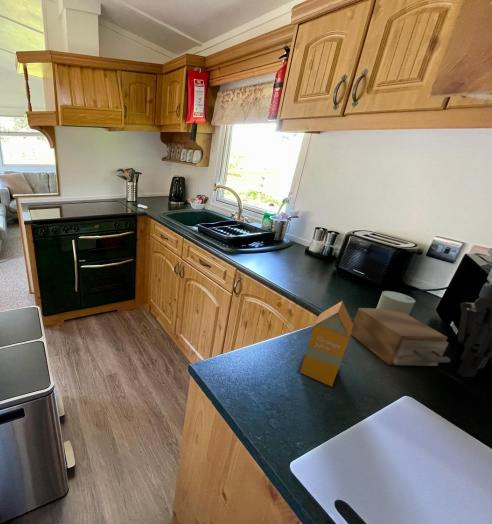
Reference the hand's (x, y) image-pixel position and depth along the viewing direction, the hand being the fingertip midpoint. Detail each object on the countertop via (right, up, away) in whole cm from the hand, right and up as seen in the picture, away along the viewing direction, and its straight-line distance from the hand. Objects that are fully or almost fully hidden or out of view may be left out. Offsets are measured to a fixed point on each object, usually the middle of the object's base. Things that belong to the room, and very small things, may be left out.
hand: (465, 374), depth 70 cm
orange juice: (-31, -2, +8) cm, 32 cm away
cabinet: (-2, 0, +20) cm, 20 cm away
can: (+10, +5, +34) cm, 36 cm away
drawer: (-1, 0, +16) cm, 16 cm away
